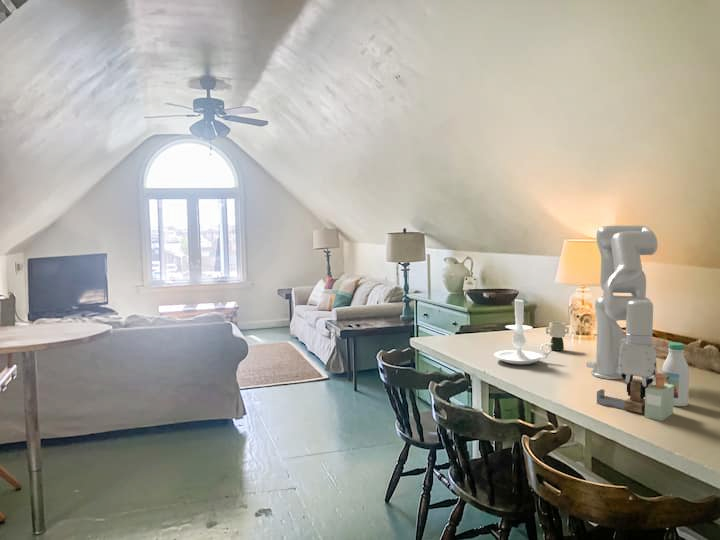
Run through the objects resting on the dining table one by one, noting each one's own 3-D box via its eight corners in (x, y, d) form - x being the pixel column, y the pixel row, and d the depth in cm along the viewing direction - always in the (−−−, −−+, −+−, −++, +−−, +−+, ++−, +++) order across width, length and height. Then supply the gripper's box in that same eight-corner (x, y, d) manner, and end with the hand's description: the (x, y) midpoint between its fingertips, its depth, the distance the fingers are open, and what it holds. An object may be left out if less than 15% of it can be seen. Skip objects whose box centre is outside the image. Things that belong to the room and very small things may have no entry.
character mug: (565, 348, 266) (566, 321, 265) (571, 351, 259) (571, 324, 258) (543, 348, 266) (543, 322, 265) (548, 351, 259) (548, 324, 258)
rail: (596, 403, 182) (596, 391, 182) (601, 400, 185) (601, 389, 185) (648, 414, 171) (648, 402, 171) (652, 411, 173) (652, 399, 173)
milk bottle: (678, 399, 186) (680, 341, 184) (693, 406, 178) (695, 345, 177) (656, 400, 186) (658, 341, 184) (669, 407, 178) (672, 346, 176)
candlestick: (559, 368, 228) (560, 301, 226) (498, 368, 229) (499, 301, 227) (545, 357, 248) (546, 295, 246) (490, 356, 250) (490, 295, 248)
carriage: (624, 409, 175) (625, 382, 174) (632, 404, 179) (632, 378, 178) (641, 412, 171) (642, 385, 170) (648, 408, 176) (649, 381, 175)
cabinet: (644, 417, 168) (644, 388, 168) (655, 409, 176) (656, 381, 175) (661, 421, 165) (662, 392, 164) (673, 413, 172) (674, 385, 171)
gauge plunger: (652, 396, 170) (653, 374, 170) (656, 394, 172) (656, 372, 172) (663, 398, 168) (663, 376, 167) (666, 396, 170) (667, 374, 169)
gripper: (607, 337, 177) (605, 393, 178) (662, 345, 165) (660, 405, 166) (616, 334, 182) (615, 388, 183) (671, 341, 170) (669, 399, 172)
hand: (636, 395), depth 175 cm, fingers closed on carriage, 3 cm apart
